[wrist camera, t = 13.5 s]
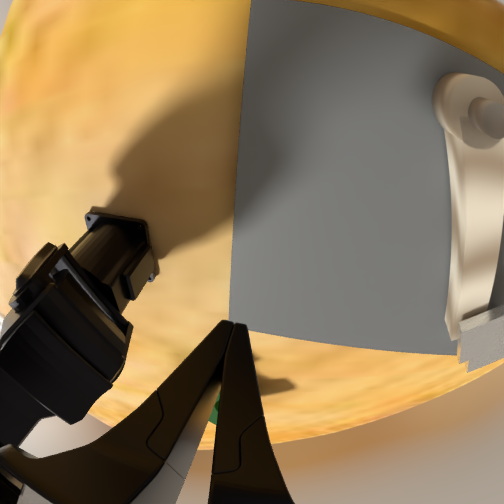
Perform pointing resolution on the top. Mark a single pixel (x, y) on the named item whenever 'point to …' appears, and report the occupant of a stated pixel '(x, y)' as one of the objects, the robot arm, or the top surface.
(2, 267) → the top surface
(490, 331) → the block
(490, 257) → the link
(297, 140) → the board
